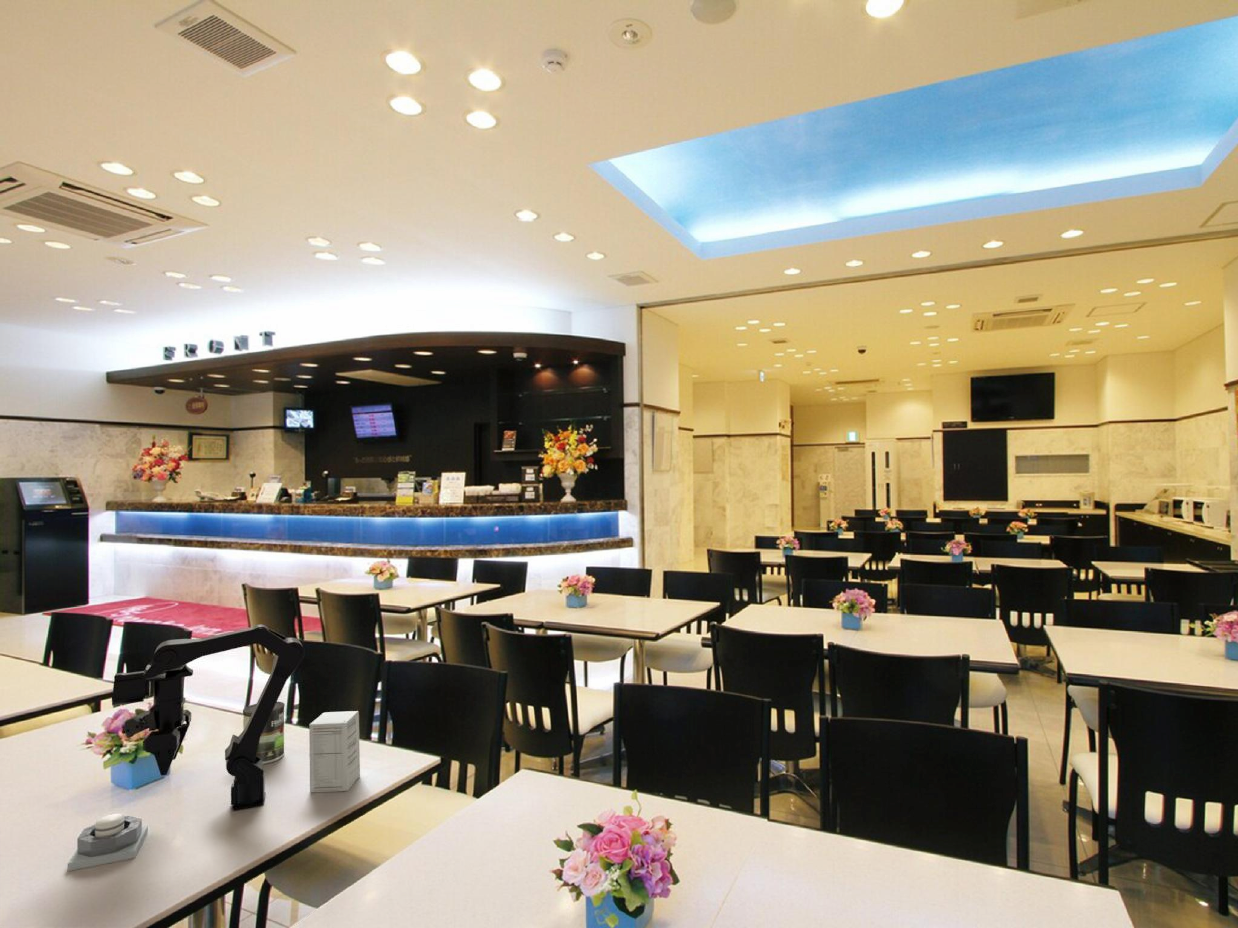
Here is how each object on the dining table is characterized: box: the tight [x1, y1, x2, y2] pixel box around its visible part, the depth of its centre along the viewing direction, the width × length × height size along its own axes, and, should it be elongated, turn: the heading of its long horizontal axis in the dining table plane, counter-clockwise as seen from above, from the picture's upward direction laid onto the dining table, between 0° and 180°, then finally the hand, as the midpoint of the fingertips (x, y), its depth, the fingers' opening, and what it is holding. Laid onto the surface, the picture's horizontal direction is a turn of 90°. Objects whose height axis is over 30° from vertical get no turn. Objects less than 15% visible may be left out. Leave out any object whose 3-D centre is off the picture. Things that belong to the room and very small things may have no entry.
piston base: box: [67, 813, 149, 872], centre depth 140 cm, size 11×11×6 cm
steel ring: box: [76, 815, 143, 857], centre depth 141 cm, size 10×10×3 cm
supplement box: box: [308, 710, 361, 793], centre depth 171 cm, size 10×9×17 cm
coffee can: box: [242, 701, 286, 765], centre depth 188 cm, size 10×10×14 cm
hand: (168, 766), depth 153 cm, fingers open, 9 cm apart
